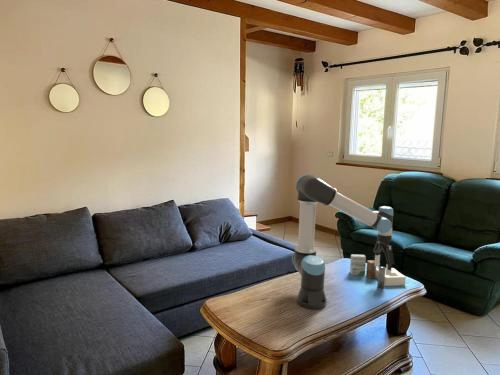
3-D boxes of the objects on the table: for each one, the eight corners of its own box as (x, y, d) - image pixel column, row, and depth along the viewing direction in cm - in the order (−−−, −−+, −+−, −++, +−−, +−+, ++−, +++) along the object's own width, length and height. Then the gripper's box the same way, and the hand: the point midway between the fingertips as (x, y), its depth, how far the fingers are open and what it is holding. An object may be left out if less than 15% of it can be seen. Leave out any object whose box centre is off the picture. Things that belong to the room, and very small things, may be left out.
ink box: (363, 272, 230) (364, 254, 228) (365, 275, 225) (366, 257, 223) (349, 271, 231) (350, 253, 229) (350, 274, 226) (352, 256, 224)
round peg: (378, 288, 206) (380, 268, 204) (376, 286, 210) (377, 266, 208) (384, 288, 206) (386, 268, 205) (381, 286, 210) (383, 266, 208)
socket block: (385, 285, 210) (386, 277, 210) (374, 276, 224) (375, 268, 223) (404, 285, 212) (405, 276, 211) (392, 275, 226) (393, 267, 225)
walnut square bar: (368, 278, 221) (370, 262, 219) (366, 275, 225) (367, 260, 223) (375, 278, 221) (376, 262, 220) (372, 275, 225) (373, 260, 223)
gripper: (402, 240, 191) (400, 278, 195) (380, 228, 216) (378, 262, 219) (389, 241, 190) (386, 279, 194) (368, 228, 215) (366, 262, 218)
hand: (382, 270), depth 206 cm, fingers open, 13 cm apart
